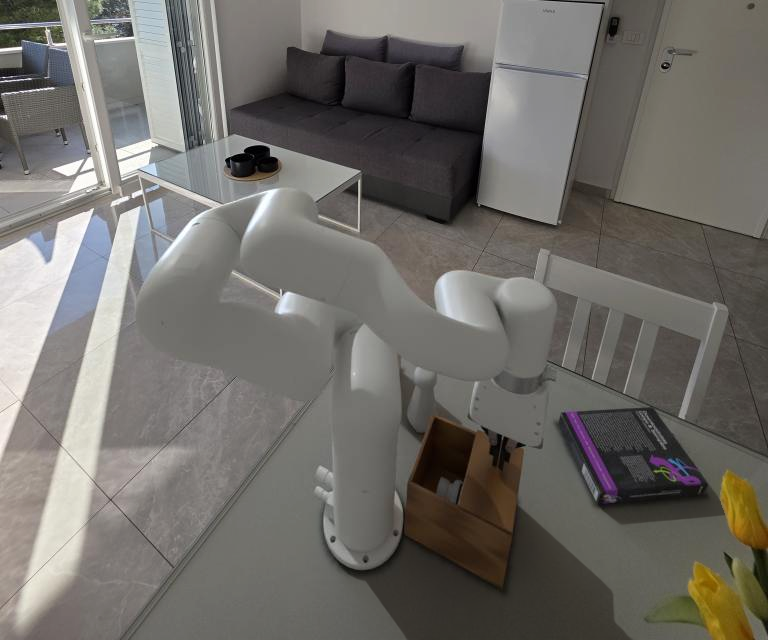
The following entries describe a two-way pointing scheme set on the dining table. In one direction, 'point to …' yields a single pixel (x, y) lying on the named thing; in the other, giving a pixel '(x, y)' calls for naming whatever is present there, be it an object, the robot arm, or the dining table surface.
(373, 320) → the robot arm
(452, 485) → the pill bottle
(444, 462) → the wooden storage box
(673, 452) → the box
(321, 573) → the dining table surface
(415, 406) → the salt shaker
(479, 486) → the flap
